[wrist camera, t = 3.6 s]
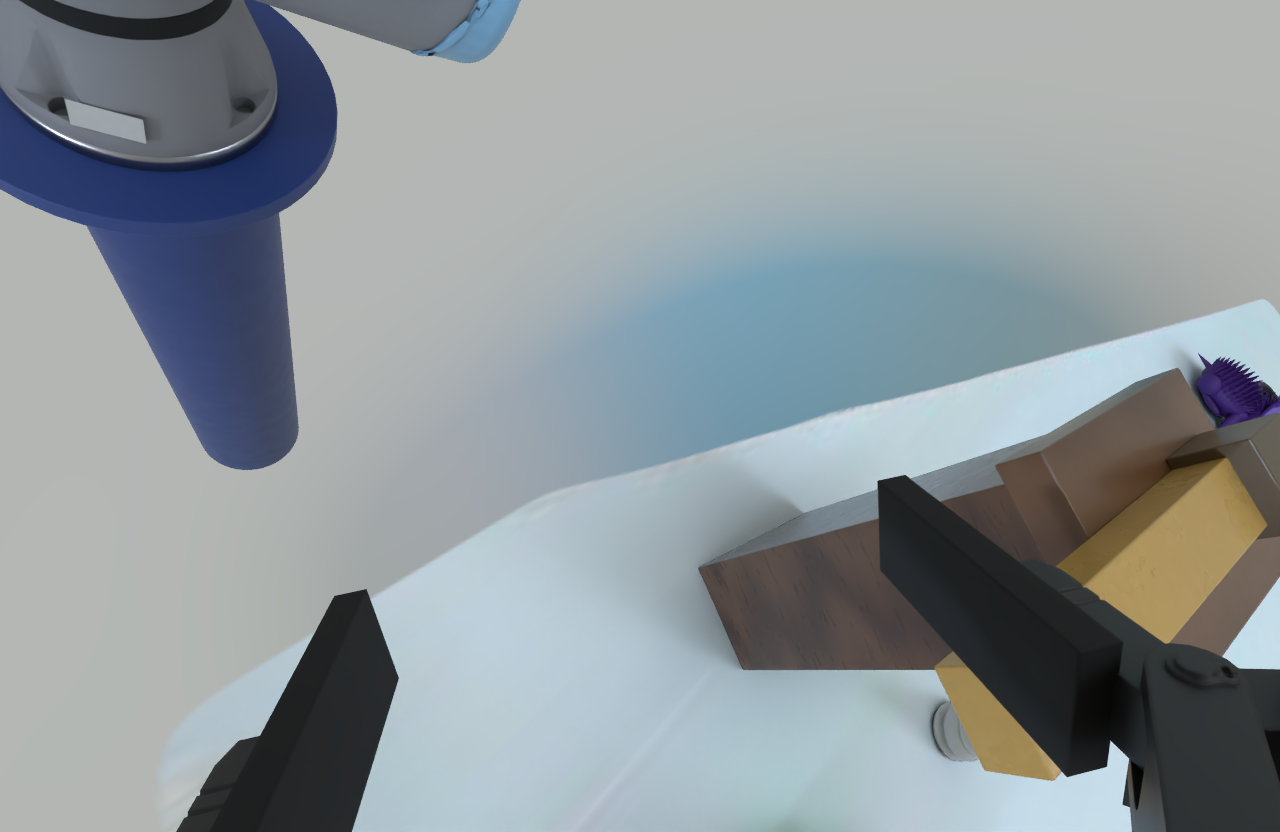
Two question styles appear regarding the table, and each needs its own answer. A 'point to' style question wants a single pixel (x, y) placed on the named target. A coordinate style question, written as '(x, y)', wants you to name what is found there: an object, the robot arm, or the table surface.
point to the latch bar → (1149, 566)
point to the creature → (1234, 393)
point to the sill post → (998, 508)
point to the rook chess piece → (952, 734)
